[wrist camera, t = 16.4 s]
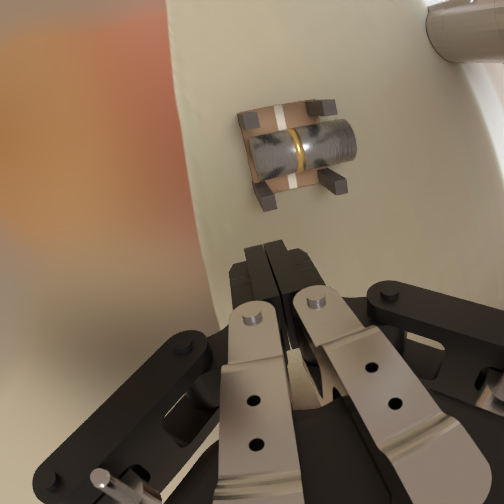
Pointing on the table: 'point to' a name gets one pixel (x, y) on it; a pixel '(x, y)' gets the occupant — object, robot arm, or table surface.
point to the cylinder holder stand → (279, 120)
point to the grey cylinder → (302, 148)
